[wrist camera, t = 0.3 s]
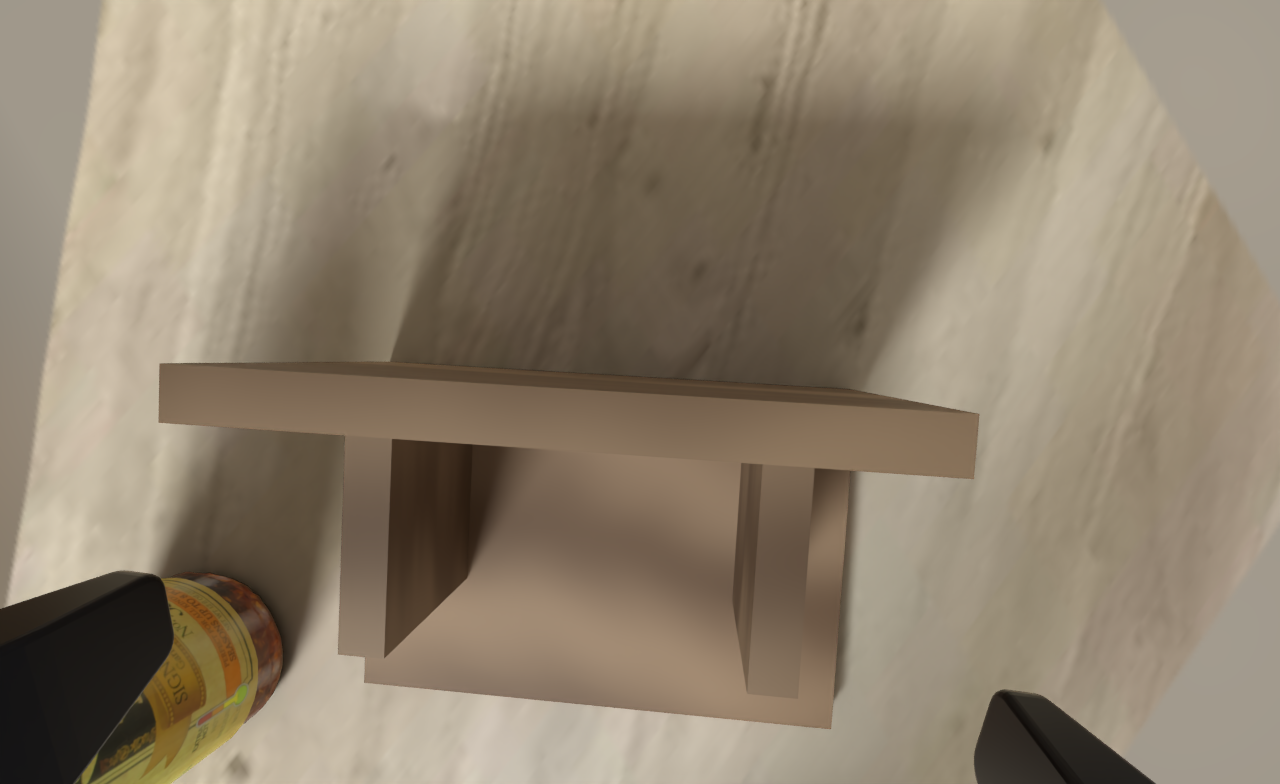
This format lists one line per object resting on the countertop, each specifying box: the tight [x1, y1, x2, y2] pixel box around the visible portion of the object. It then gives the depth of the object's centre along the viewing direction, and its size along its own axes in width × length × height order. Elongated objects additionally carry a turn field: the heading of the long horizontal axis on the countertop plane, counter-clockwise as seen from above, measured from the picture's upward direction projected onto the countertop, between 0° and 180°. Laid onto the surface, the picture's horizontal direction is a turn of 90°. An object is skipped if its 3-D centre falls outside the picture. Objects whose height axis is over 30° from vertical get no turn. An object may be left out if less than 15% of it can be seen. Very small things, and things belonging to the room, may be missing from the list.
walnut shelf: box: [159, 362, 979, 729], centre depth 18 cm, size 11×16×10 cm
